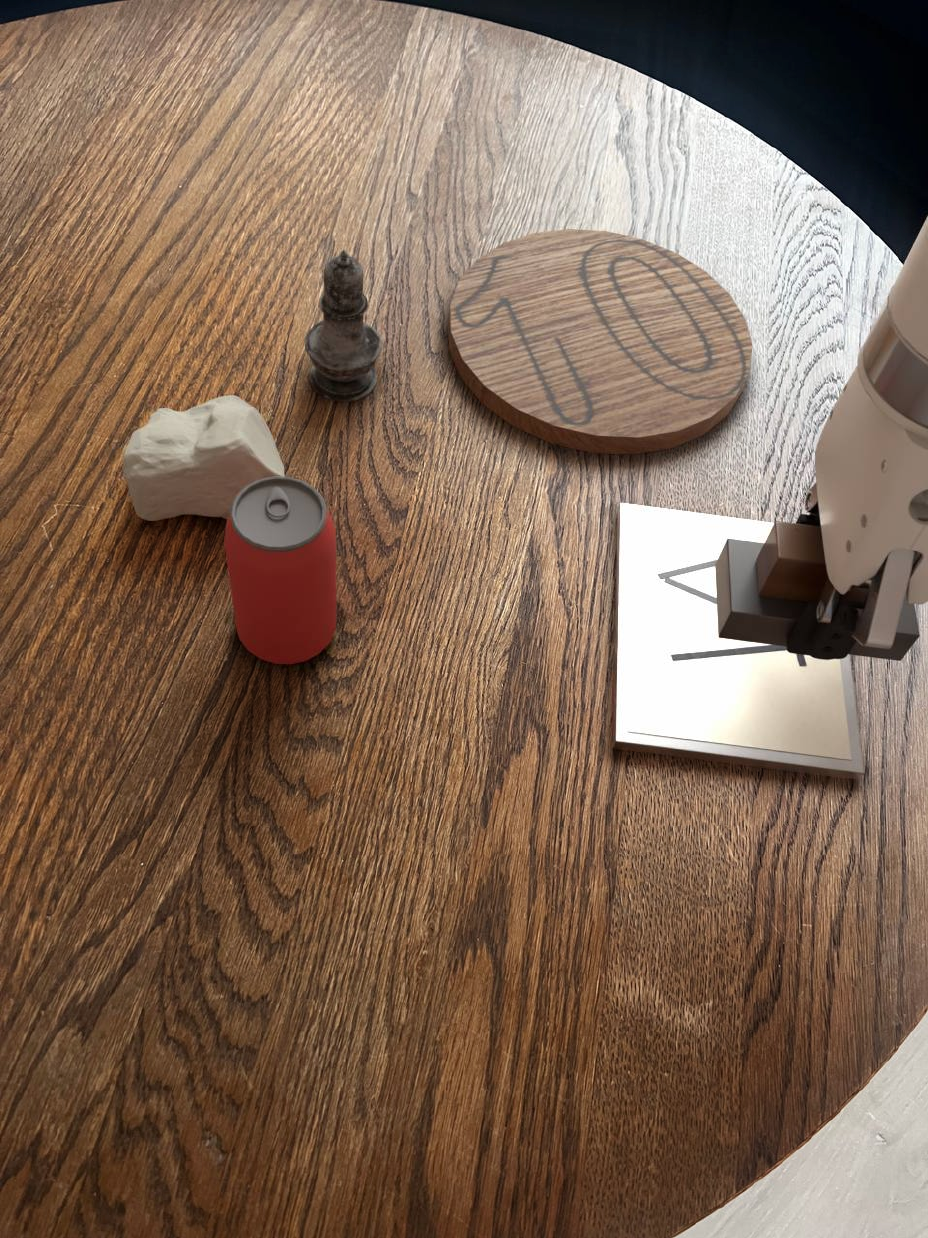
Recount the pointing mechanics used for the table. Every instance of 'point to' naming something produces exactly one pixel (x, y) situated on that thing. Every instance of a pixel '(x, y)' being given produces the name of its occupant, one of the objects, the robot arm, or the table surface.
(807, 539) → the eraser
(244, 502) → the beer can
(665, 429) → the trivet
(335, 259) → the dark chess piece
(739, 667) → the whiteboard
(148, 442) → the decorative stone
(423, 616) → the table surface
